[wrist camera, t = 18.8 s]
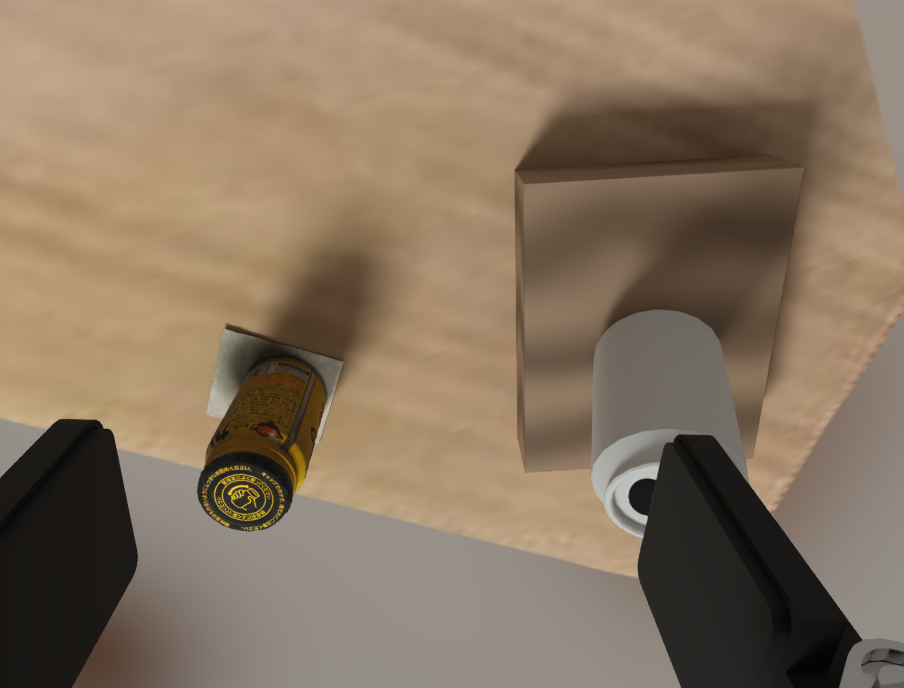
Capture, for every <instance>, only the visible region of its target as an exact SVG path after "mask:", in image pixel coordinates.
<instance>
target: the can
mask: <svg viewBox="0 0 904 688" xmlns="http://www.w3.org/2000/svg"><path fill="white" fill-rule="evenodd" d="M679 434H692V435H712V436H714V437H715V438H716V439H717V441H718V442H719V443H720V445H721V446H722V448H723V449H724V450H725V452H726V453H727V454H728V456H729V457H730V459H731V460H732V461H733V463H734V464H735V465H736V467H737V468H738V470H739V471H740V472H741V474H742V475H743V477H744V478H745V479H746V481H747V482H748V483H749V480H748V471H747V465H746V460H745V455H744V451H743V446H742V441H741V437H740V432H739V427H738V422H737V418H736V413H735V408H734V404H733V399H732V394H731V389H730V385H729V380H728V375H727V370H726V366H725V361H724V356H723V352H722V347H721V342H720V341H719V339H718V338H717V336H716V334H715V333H714V331H713V330H712V328H710V327H709V326H708V325H706V324H705V323H703V322H702V321H701V320H699V319H698V318H696V317H693V316H691V315H688V314H685V313H682V312H679V311H670V310H658V309H657V310H651V311H645V312H638V313H635V314H632V315H630V316H628V317H626V318H623V319H621V320H619V321H617V322H616V323H615V324H614V325H612V326H611V327H610V328H609V329H608V330H606V331H605V332H604V333H603V335H602V337H601V338H600V340H599V342H598V343H597V345H596V348H595V355H594V371H593V413H592V456H591V481H592V484H593V487H594V490H595V493H596V495H597V496H598V497H599V498H600V499H601V500H602V501H603V503H604V506H605V509H606V512H607V515H608V516H609V517H610V518H611V519H612V520H613V522H614V523H615V524H616V525H617V526H619V527H620V528H622V529H624V530H625V531H627V532H629V533H630V534H632V535H635V536H638V537H641V538H643V536H644V532H645V527H646V523H647V518H648V514H649V509H650V505H651V500H652V496H653V491H654V487H655V483H656V478H657V474H658V469H659V465H660V460H661V456H662V451H663V448H664V445H665V444H666V443H667V442H673V441H674V439H675V437H676V436H677V435H679Z"/></svg>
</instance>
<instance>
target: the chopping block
mask: <svg viewBox="0 0 904 688" xmlns="http://www.w3.org/2000/svg"><path fill="white" fill-rule="evenodd" d="M803 172H804V167H801V166H798V165H795V164H792V163H789V162H786V161H783V160H780V159H777V158H774V157H771V156H768V155H761V156H744V157H727V158H711V159H694V160H677V161H660V162H643V163H626V164H609V165H592V166H575V167H558V168H541V169H524V170H515V250H516V345H517V438H518V442H519V447H520V451H521V455H522V460H523V464H524V468H525V473H529V472H545V471H561V470H576V469H591V456H592V413H593V371H594V355H595V348H596V345H597V343H598V342H599V340H600V338H601V337H602V335H603V333H604V332H605V331H606V330H608V329H609V328H610V327H611V326H612V325H614V324H615V323H616V322H617V321H619V320H621V319H623V318H626V317H628V316H630V315H632V314H635V313H638V312H645V311H651V310H657V309H658V310H670V311H679V312H682V313H685V314H688V315H691V316H693V317H696V318H698V319H699V320H701V321H702V322H703V323H705V324H706V325H708V326H709V327H710V328H712V330H713V331H714V333H715V334H716V336H717V338H718V339H719V341H720V342H721V347H722V352H723V356H724V361H725V366H726V370H727V375H728V380H729V385H730V389H731V394H732V399H733V404H734V408H735V413H736V418H737V422H738V427H739V432H740V437H741V441H742V446H743V451H744V455H745V459H749V458H753V454H754V449H755V443H756V438H757V432H758V426H759V421H760V415H761V409H762V404H763V398H764V392H765V387H766V381H767V375H768V370H769V364H770V358H771V353H772V347H773V342H774V336H775V330H776V325H777V319H778V313H779V308H780V302H781V296H782V291H783V285H784V279H785V274H786V268H787V262H788V257H789V251H790V246H791V240H792V234H793V229H794V223H795V217H796V212H797V206H798V200H799V195H800V189H801V183H802V178H803Z"/></svg>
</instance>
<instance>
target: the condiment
mask: <svg viewBox="0 0 904 688" xmlns="http://www.w3.org/2000/svg"><path fill="white" fill-rule="evenodd" d="M265 355H266V356H265ZM343 363H344V362H342V361H339V360H335V359H332V358H329V357H325V356H322V355H319V354H315V353H311V352H308V351H305V350H302V349H296V348H294V347H290V346H286V345H283V344H277V343H273V342H270V341H267V340H264V339H260V338H257V337H254V336H249V335H245V334H240V333H236V332H233V331H230V330H226V329H223V333H222V339H221V344H220V349H219V354H218V359H217V364H216V369H215V373H214V379H213V383H212V387H211V392H210V397H209V401H208V406H207V411H206V415H210V416H213V417H216V418H221V419H222V421H221V423H220V425H219V427H218V428H217V430H216V432H215V434H214V436H213V437H212V439H211V442H210V443H209V445H208V448H207V451H206V457H205V466H204V470H203V471H202V472H201V475H200V478H199V482H198V489H197V494H198V499H199V502H200V504H201V505H202V507H203V509H204V510H205V512H206V513H207V514H208V515H209V516H210V517H212V519H214V520H215V521H217V522H218V523H220V524H221V525H223V526H226V527H228V528H231V529H235V530H241V531H255V530H263V529H266V528H269V527H271V526H272V525H274V524H275V523H276V522H278V521H279V520H280V519H281V518H282V517H283V516H284V514H285V513H287V512H288V510H289V508H290V506H291V503H292V498H293V496H294V494H295V493H296V492H297V491H298V489H299V488H300V486H301V485H302V483H303V481H304V479H305V477H306V473H307V470H308V467H309V462H310V459H311V456H312V452H313V448H314V444H315V443H317V444H319V442H320V439H321V435H322V432H323V429H324V425H325V422H326V419H327V415H328V412H329V409H330V406H331V402H332V399H333V396H334V392H335V389H336V386H337V383H338V379H339V376H340V373H341V369H342V366H343Z"/></svg>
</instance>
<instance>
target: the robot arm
mask: <svg viewBox="0 0 904 688" xmlns="http://www.w3.org/2000/svg"><path fill="white" fill-rule="evenodd" d="M137 559H138V554H137V548H136V543H135V538H134V533H133V528H132V524H131V519H130V513H129V508H128V504H127V498H126V493H125V489H124V483H123V479H122V473H121V468H120V464H119V459H118V454H117V449H116V444H115V439H114V435H113V433H112V431H111V430H110V429H104V428H103V425H102V424H101V423H100V421H98V420H83V419H60V420H58V421H56V422H55V423H54V424H53V425H52V426H51V427H50V428H49V429H48V430H47V431H46V432H45V433H44V434H43V435H42V436H41V437H40V438H39V439H38V440H37V441H36V442H35V443H34V444H33V445H32V446H31V447H30V448H29V449H28V450H27V451H26V452H25V453H24V454H23V456H21V457H20V458H19V459H18V460H17V461H16V462H15V463H14V464H13V465H12V466H11V468H9V469H8V470H7V471H6V472H5V474H4V475H3V476H2V477H1V478H0V688H72V686H73V684H74V683H75V681H76V679H77V677H78V675H79V674H80V672H81V670H82V668H83V666H84V665H85V663H86V661H87V659H88V657H89V656H90V654H91V652H92V650H93V648H94V646H95V644H96V643H97V641H98V639H99V637H100V635H101V634H102V632H103V630H104V628H105V627H106V625H107V623H108V621H109V619H110V618H111V616H112V614H113V612H114V610H115V608H116V607H117V605H118V603H119V601H120V599H121V598H122V596H123V594H124V592H125V590H126V588H127V586H128V585H129V583H130V581H131V580H132V578H133V575H134V573H135V570H136V567H137V561H138V560H137ZM638 576H639V580H640V583H641V586H642V589H643V591H644V594H645V596H646V599H647V601H648V604H649V606H650V609H651V611H652V614H653V617H654V619H655V622H656V624H657V626H658V629H659V632H660V634H661V637H662V640H663V642H664V645H665V647H666V650H667V652H668V655H669V657H670V660H671V663H672V665H673V668H674V670H675V673H676V675H677V678H678V680H679V683H680V686H681V688H904V644H903V643H901V642H896V641H891V640H886V639H866V640H862V639H861V637H860V636H859V635H858V633H857V632H856V630H855V629H854V628H853V626H852V625H851V624H850V622H849V621H848V619H847V618H846V617H845V615H844V614H843V612H842V611H841V610H840V608H839V607H838V606H837V604H836V603H835V601H834V600H833V599H832V597H831V596H830V595H829V593H828V592H827V590H826V589H825V588H824V586H823V585H822V584H821V582H820V581H819V579H818V578H817V577H816V575H815V574H814V573H813V571H812V570H811V569H810V567H809V566H808V565H807V563H806V562H805V560H804V559H803V558H802V556H801V555H800V553H799V552H798V551H797V549H796V548H795V547H794V545H793V544H792V542H791V541H790V539H789V538H788V537H787V535H786V534H785V533H784V531H783V530H782V529H781V527H780V526H779V524H778V523H777V522H776V520H775V519H774V518H773V516H772V515H771V514H770V512H769V511H768V510H767V508H766V507H765V505H764V504H763V503H762V501H761V500H760V499H759V497H758V496H757V494H756V493H755V492H754V490H753V489H752V488H751V486H750V485H749V483H748V482H747V481H746V479H745V478H744V477H743V475H742V474H741V472H740V471H739V470H738V468H737V467H736V465H735V464H734V463H733V461H732V460H731V459H730V457H729V456H728V454H727V453H726V452H725V450H724V449H723V448H722V446H721V445H720V443H719V442H718V441H717V439H716V438H715V437H714V436H712V435H692V434H679V435H677V436H676V437H675V439H674V441H673V442H667V443H666V444H665V445H664V448H663V451H662V456H661V460H660V465H659V469H658V474H657V478H656V483H655V487H654V491H653V496H652V500H651V505H650V509H649V514H648V518H647V523H646V527H645V532H644V536H643V541H642V545H641V549H640V554H639V558H638Z"/></svg>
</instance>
